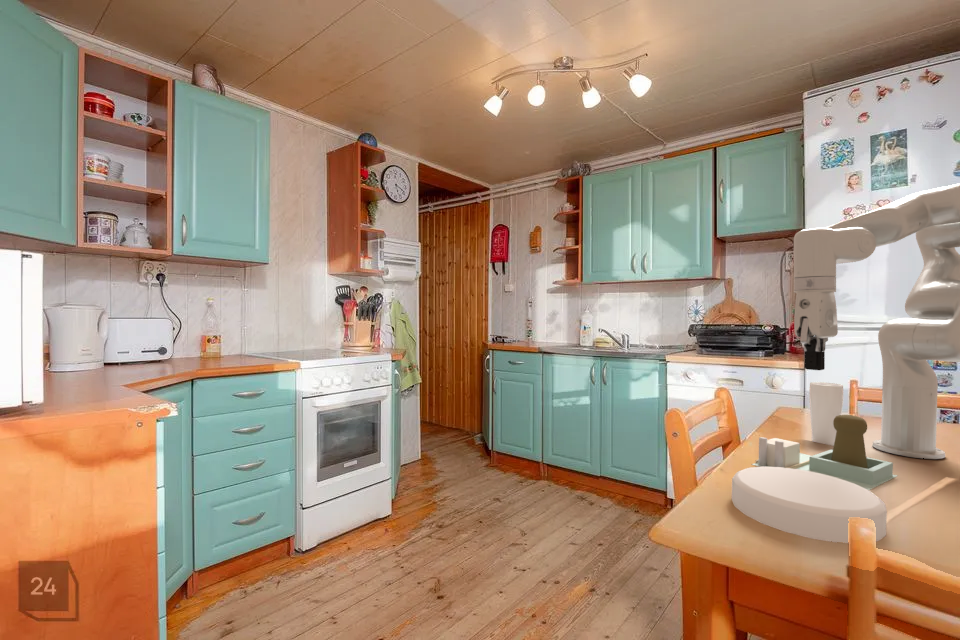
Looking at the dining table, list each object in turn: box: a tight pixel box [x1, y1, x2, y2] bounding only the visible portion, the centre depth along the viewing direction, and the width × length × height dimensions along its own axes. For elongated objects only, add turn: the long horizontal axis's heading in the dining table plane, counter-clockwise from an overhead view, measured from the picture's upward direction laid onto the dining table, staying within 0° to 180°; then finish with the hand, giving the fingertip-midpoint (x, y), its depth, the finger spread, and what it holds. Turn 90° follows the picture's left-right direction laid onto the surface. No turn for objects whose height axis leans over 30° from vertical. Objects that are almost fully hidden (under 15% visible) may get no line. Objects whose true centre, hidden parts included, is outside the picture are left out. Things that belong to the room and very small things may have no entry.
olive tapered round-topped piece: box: [831, 414, 868, 469], centre depth 90 cm, size 6×6×11 cm
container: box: [731, 466, 888, 544], centre depth 73 cm, size 20×20×5 cm
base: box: [751, 436, 898, 491], centre depth 91 cm, size 18×18×7 cm
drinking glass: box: [808, 381, 844, 447], centre depth 114 cm, size 7×7×15 cm
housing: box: [767, 437, 801, 468], centre depth 94 cm, size 6×5×4 cm
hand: (814, 369), depth 101 cm, fingers closed
